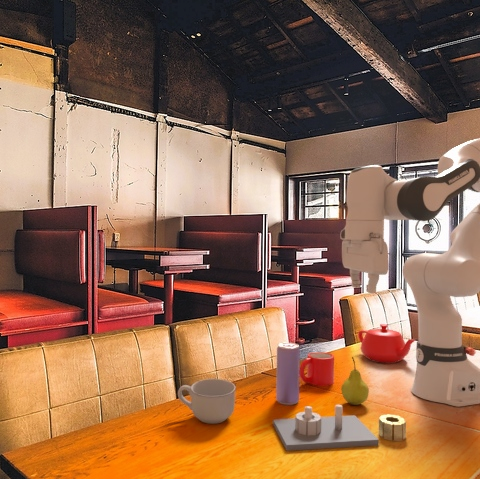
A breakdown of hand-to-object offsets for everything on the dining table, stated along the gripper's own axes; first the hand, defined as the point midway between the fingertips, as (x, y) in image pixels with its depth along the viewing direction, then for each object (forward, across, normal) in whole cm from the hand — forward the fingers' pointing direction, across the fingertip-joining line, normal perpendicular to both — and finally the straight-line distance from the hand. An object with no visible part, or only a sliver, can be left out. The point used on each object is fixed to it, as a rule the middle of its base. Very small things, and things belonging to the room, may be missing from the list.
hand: (363, 290), depth 114 cm
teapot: (+31, +48, -28) cm, 64 cm away
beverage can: (+31, +12, +15) cm, 37 cm away
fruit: (+31, +9, -2) cm, 32 cm away
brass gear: (+31, -10, -3) cm, 33 cm away
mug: (+31, +26, +3) cm, 41 cm away
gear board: (+31, -8, +12) cm, 34 cm away
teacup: (+32, +4, +37) cm, 49 cm away
